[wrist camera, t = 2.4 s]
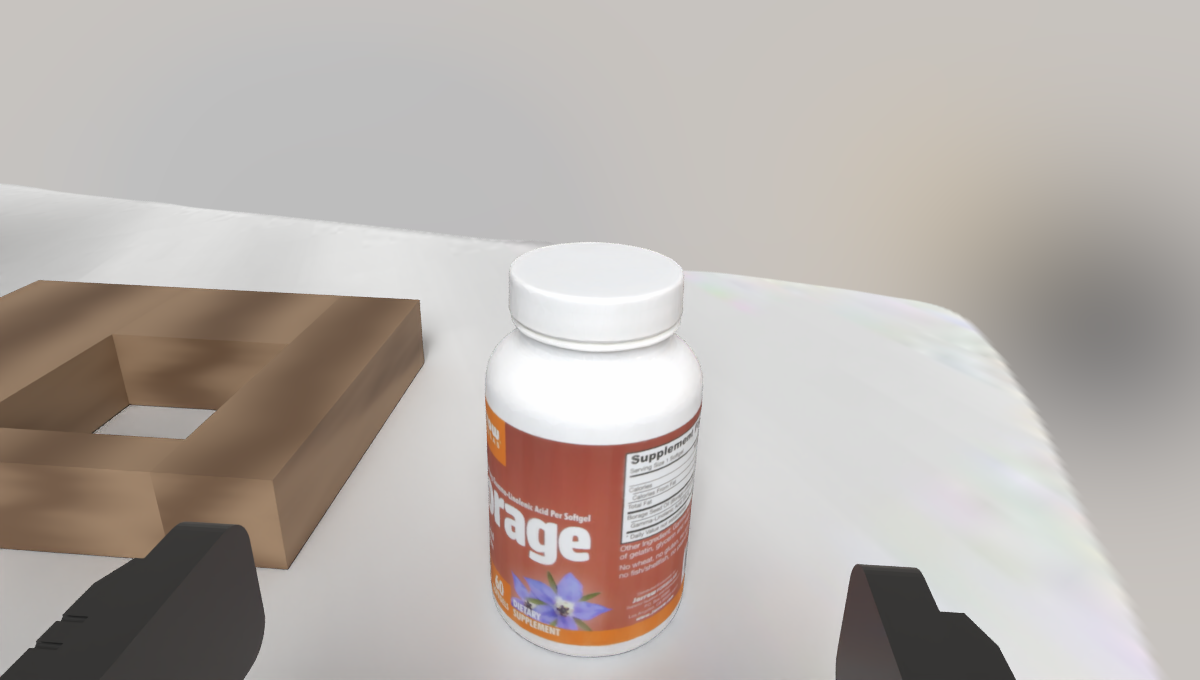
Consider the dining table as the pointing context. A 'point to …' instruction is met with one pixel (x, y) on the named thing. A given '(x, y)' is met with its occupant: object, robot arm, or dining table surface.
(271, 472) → the socket block
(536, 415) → the pill bottle
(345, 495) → the dining table surface
